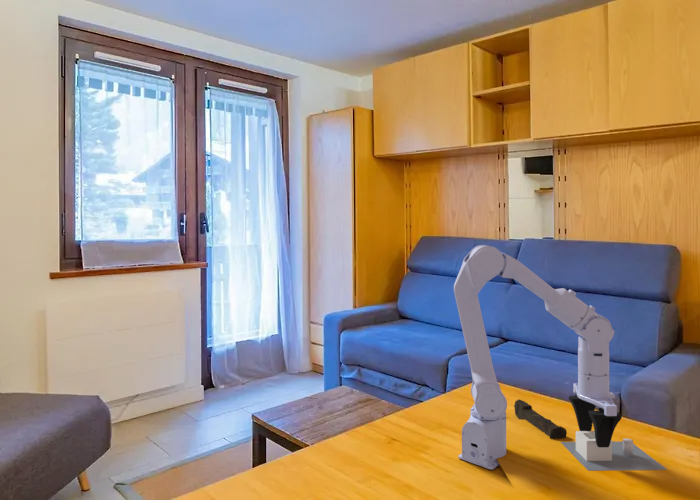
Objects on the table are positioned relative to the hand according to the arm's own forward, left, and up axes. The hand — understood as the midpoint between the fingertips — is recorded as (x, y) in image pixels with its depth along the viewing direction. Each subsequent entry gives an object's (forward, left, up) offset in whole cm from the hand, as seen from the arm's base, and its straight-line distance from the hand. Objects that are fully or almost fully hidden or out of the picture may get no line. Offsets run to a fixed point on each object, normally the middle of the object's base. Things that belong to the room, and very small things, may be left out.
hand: (593, 438), depth 103 cm
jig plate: (+2, -2, -5) cm, 6 cm away
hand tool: (+8, +17, -5) cm, 19 cm away
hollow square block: (0, 0, -3) cm, 3 cm away
